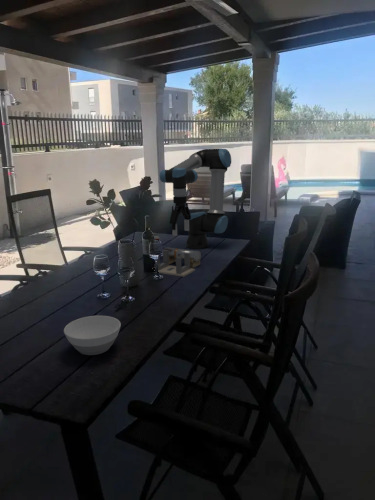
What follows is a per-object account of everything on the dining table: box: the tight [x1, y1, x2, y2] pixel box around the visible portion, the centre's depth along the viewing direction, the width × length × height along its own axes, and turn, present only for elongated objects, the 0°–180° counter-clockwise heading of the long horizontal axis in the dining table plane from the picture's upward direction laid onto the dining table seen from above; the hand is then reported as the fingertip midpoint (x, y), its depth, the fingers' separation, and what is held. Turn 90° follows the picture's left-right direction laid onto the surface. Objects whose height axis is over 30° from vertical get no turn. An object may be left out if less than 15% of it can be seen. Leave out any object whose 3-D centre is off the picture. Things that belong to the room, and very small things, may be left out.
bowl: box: [63, 315, 122, 356], centre depth 151 cm, size 20×20×8 cm
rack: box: [168, 257, 201, 269], centre depth 251 cm, size 19×9×4 cm, turn 60°
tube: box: [163, 246, 202, 262], centre depth 250 cm, size 22×6×6 cm, turn 60°
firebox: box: [153, 249, 196, 278], centre depth 238 cm, size 22×12×10 cm, turn 60°
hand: (181, 233), depth 247 cm, fingers open, 13 cm apart
